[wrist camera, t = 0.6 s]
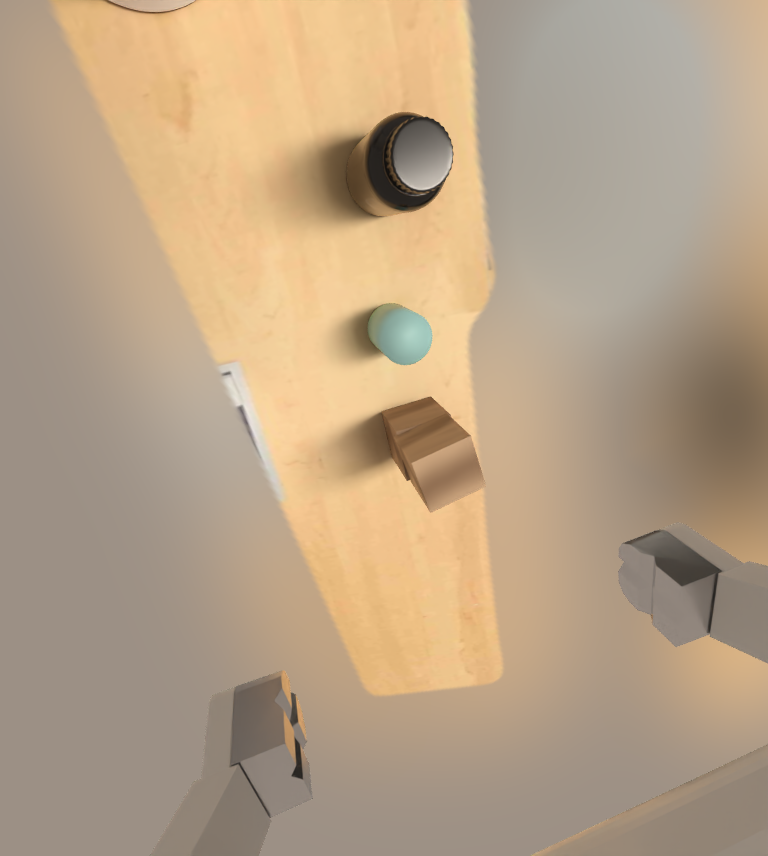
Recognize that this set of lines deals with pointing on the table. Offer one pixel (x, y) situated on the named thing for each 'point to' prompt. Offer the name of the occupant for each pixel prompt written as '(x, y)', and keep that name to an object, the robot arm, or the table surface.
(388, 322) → the teal rounded cylinder
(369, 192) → the supplement bottle
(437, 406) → the tower base
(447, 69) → the table surface
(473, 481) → the tower top
